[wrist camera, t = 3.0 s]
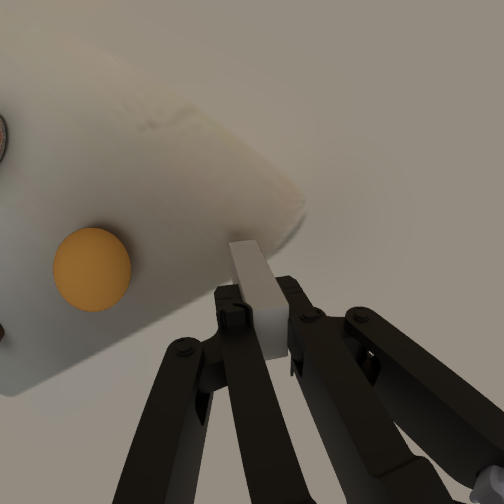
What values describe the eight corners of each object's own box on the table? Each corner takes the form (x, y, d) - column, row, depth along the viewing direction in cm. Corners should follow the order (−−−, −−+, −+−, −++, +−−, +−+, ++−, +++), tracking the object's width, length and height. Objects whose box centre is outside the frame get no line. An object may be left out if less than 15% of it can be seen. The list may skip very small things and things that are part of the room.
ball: (82, 288, 20) (59, 331, 15) (62, 223, 17) (28, 254, 13) (144, 280, 21) (133, 325, 16) (128, 211, 18) (107, 240, 13)
